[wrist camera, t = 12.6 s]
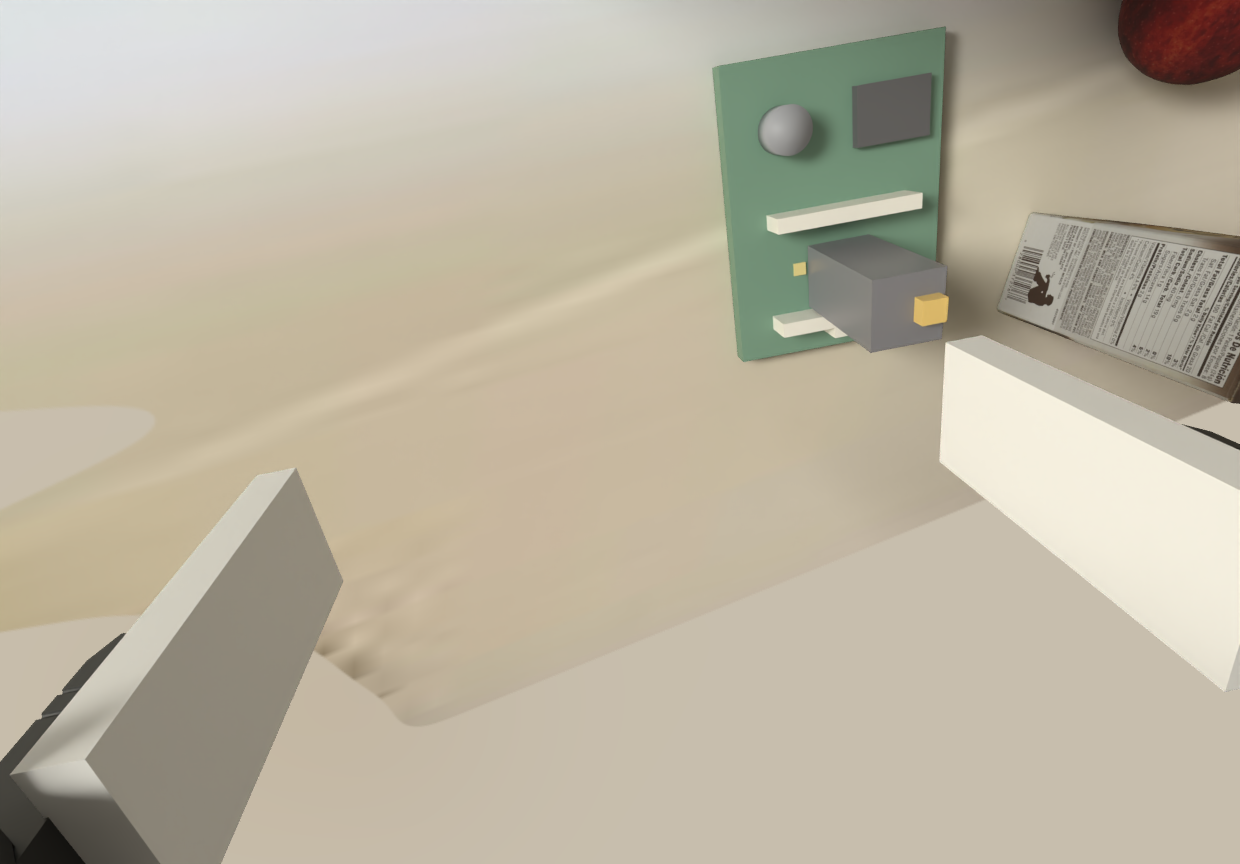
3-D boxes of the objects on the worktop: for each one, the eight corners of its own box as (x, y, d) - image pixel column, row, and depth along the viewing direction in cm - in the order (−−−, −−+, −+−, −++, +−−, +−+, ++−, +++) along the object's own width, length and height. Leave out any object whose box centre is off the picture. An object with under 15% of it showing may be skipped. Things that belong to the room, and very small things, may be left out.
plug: (807, 245, 38) (880, 284, 30) (868, 234, 38) (957, 270, 30) (808, 306, 39) (878, 358, 32) (867, 295, 39) (951, 344, 32)
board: (712, 68, 35) (728, 62, 32) (933, 29, 35) (967, 20, 32) (737, 356, 41) (752, 371, 39) (922, 320, 42) (950, 333, 39)
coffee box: (1159, 223, 41) (1504, 272, 26) (1116, 325, 44) (1410, 420, 29) (1027, 208, 40) (1315, 250, 25) (991, 313, 42) (1233, 407, 28)
